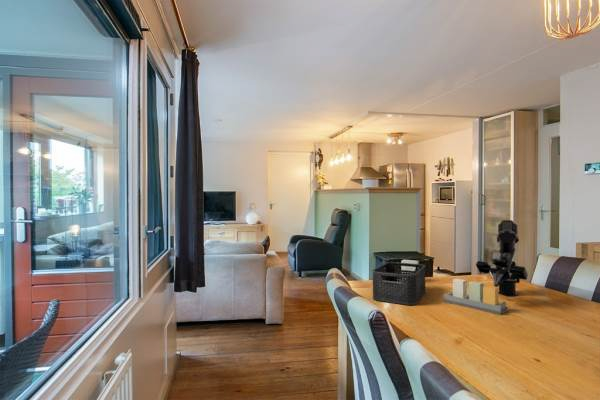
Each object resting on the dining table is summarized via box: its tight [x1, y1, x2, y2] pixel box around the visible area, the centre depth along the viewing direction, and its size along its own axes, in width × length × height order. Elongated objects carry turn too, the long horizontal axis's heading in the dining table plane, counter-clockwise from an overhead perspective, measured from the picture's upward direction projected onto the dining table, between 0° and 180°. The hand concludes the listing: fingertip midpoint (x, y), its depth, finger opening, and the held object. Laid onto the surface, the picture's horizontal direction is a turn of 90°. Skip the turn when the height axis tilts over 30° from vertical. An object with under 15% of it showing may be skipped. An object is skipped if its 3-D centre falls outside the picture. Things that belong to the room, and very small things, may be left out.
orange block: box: [483, 285, 499, 306], centre depth 140 cm, size 4×4×8 cm
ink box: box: [400, 259, 420, 279], centre depth 187 cm, size 9×5×12 cm, turn 62°
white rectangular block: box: [452, 277, 468, 298], centre depth 152 cm, size 4×4×8 cm
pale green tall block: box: [468, 280, 484, 301], centre depth 147 cm, size 4×4×8 cm
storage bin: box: [372, 261, 426, 306], centre depth 162 cm, size 29×19×13 cm
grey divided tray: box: [443, 291, 509, 316], centre depth 146 cm, size 8×23×3 cm, turn 41°
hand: (495, 286), depth 143 cm, fingers closed
